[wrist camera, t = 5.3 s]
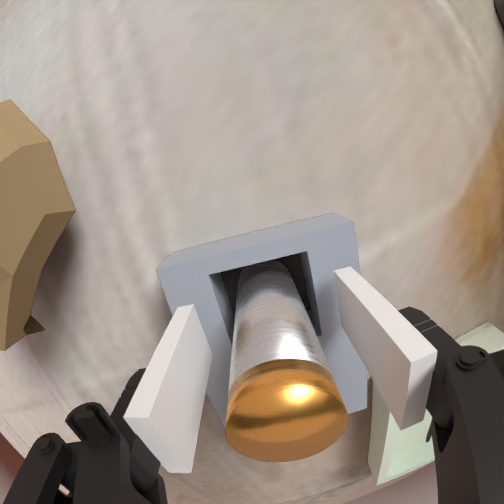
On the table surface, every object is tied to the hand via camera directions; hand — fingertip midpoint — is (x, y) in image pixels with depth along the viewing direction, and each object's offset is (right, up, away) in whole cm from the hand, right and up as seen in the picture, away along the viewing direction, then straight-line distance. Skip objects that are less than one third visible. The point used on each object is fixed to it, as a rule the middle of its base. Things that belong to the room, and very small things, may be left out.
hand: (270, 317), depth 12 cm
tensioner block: (+1, -2, +5) cm, 5 cm away
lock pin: (0, +1, +4) cm, 4 cm away
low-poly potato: (-16, +5, +3) cm, 17 cm away
